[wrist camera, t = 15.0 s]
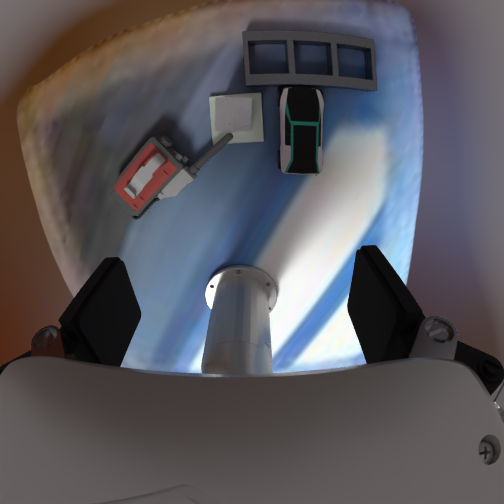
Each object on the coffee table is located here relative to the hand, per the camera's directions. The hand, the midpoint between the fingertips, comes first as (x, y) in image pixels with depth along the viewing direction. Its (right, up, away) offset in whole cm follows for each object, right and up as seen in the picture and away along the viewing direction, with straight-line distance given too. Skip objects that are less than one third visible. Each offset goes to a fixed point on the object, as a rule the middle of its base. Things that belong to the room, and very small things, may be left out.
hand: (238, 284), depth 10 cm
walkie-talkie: (-12, +14, +27) cm, 32 cm away
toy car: (+7, +19, +25) cm, 32 cm away
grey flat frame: (+8, +27, +19) cm, 35 cm away
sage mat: (-2, +20, +24) cm, 31 cm away
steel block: (-2, +20, +23) cm, 30 cm away
